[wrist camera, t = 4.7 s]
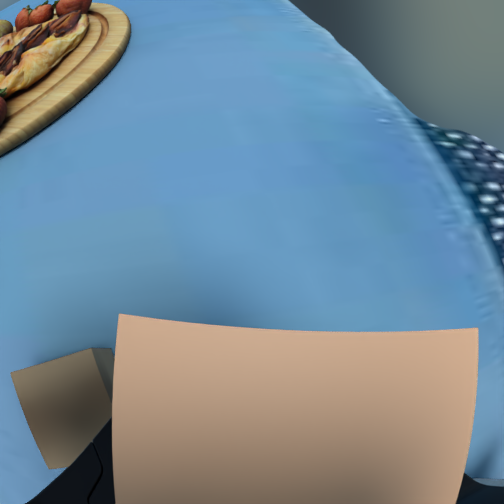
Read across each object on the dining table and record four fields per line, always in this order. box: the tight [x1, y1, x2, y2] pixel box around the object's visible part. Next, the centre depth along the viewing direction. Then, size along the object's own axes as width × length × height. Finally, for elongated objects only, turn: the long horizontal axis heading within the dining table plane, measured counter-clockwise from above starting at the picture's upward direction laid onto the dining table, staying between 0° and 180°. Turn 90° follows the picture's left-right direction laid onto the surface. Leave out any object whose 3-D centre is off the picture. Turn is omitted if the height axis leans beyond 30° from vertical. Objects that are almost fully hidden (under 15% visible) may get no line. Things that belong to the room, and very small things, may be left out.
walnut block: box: [11, 348, 115, 469], centre depth 15 cm, size 6×6×4 cm
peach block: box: [112, 314, 478, 504], centre depth 8 cm, size 5×5×12 cm
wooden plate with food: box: [0, 0, 131, 155], centre depth 21 cm, size 32×32×8 cm
